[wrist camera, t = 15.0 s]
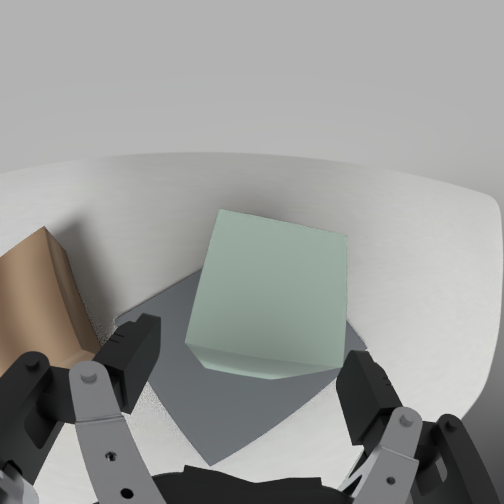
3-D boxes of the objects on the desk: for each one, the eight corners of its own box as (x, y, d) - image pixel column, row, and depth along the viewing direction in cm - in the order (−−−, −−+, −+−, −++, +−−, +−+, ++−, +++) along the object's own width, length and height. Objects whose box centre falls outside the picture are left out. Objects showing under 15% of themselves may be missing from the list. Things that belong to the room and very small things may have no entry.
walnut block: (9, 411, 12) (-21, 409, 8) (-18, 310, 15) (-44, 295, 11) (106, 358, 16) (81, 349, 12) (65, 251, 19) (44, 225, 16)
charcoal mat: (210, 465, 13) (210, 466, 13) (116, 321, 17) (114, 319, 17) (364, 348, 18) (367, 347, 18) (271, 231, 22) (272, 229, 22)
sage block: (271, 379, 16) (342, 366, 7) (205, 368, 16) (184, 342, 7) (280, 317, 19) (346, 235, 9) (218, 306, 19) (219, 208, 9)
